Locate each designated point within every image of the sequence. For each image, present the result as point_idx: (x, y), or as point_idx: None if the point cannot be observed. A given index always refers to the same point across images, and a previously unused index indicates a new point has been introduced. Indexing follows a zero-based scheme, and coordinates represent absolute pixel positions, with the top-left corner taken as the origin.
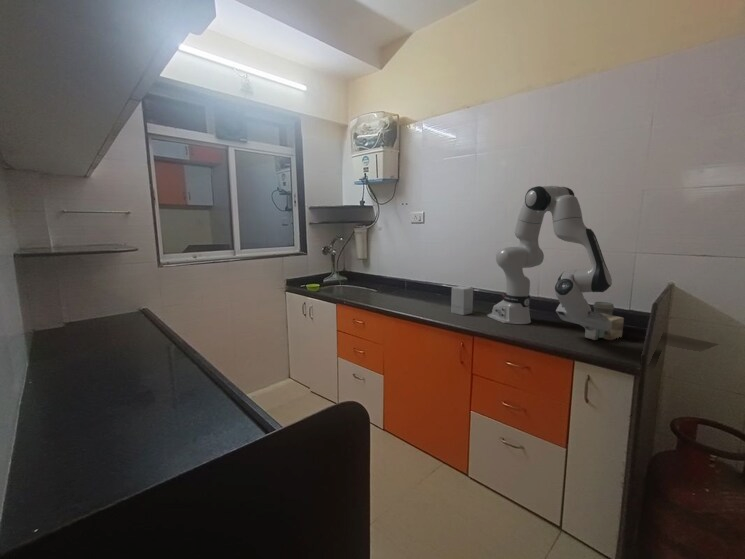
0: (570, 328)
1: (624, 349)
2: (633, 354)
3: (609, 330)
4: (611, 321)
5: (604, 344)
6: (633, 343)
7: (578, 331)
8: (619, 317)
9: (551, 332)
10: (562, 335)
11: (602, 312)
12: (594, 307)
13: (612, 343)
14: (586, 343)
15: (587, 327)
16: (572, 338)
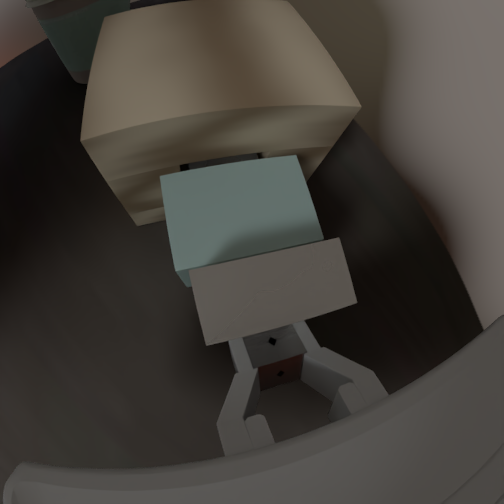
0: (21, 231)
1: (424, 268)
2: (464, 288)
3: (304, 164)
4: (346, 114)
5: (352, 307)
6: (357, 139)
7: (75, 234)
8: (274, 7)
9: (54, 433)
10: (118, 428)
11: (94, 4)
12: (37, 7)
13: (347, 240)
14: (309, 408)
15: (277, 381)
16: (193, 421)
